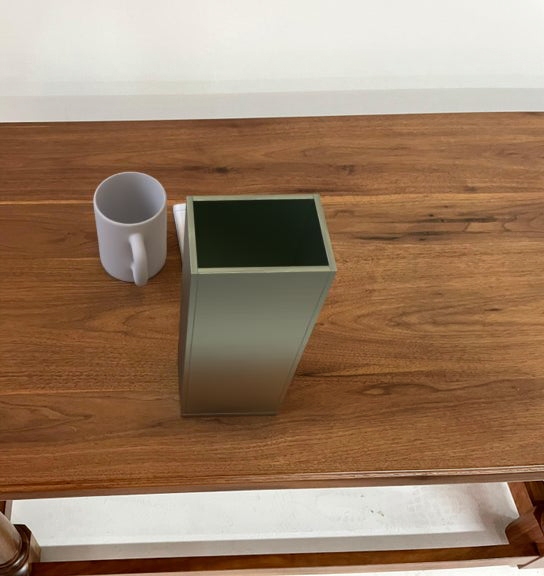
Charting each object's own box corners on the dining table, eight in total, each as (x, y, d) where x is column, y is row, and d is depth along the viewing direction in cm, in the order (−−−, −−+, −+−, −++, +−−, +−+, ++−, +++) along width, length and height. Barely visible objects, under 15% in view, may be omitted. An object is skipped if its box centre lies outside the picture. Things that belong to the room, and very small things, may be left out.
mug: (96, 235, 79) (88, 175, 70) (160, 226, 80) (160, 166, 71) (108, 311, 73) (101, 256, 64) (177, 300, 73) (180, 244, 64)
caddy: (268, 354, 69) (319, 193, 47) (276, 415, 65) (337, 270, 43) (177, 355, 69) (186, 195, 47) (180, 417, 65) (191, 273, 43)
